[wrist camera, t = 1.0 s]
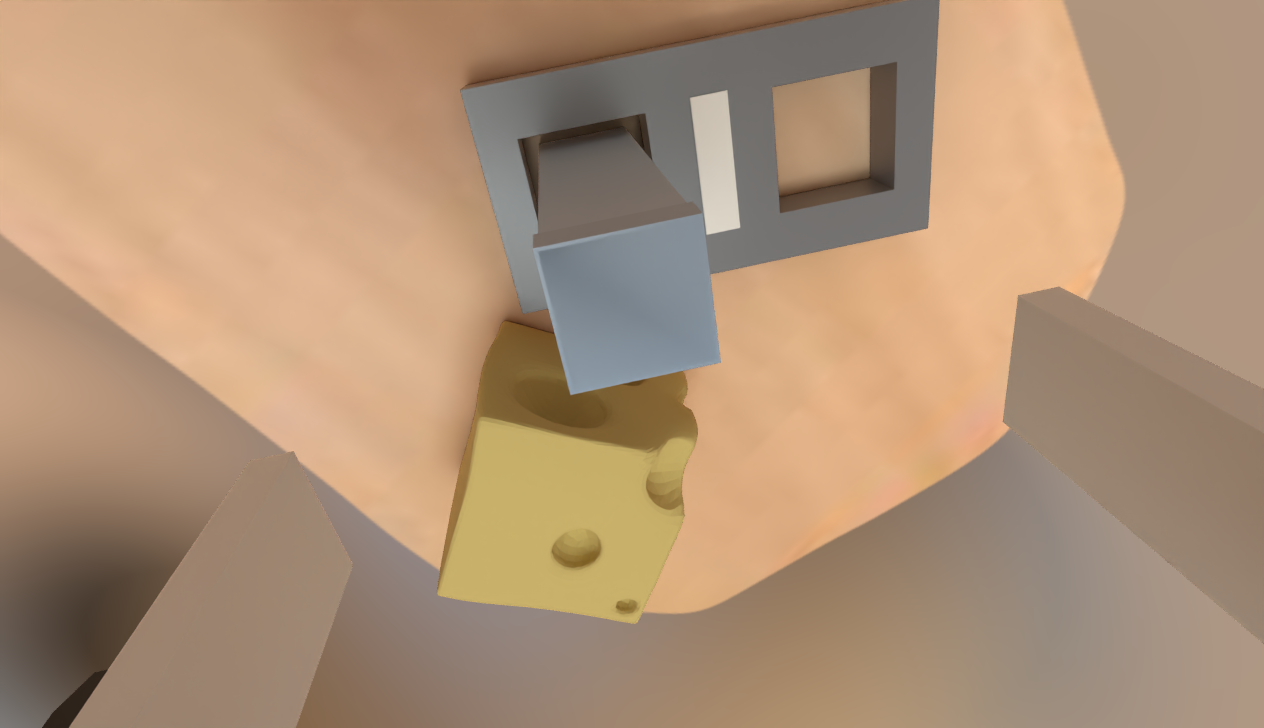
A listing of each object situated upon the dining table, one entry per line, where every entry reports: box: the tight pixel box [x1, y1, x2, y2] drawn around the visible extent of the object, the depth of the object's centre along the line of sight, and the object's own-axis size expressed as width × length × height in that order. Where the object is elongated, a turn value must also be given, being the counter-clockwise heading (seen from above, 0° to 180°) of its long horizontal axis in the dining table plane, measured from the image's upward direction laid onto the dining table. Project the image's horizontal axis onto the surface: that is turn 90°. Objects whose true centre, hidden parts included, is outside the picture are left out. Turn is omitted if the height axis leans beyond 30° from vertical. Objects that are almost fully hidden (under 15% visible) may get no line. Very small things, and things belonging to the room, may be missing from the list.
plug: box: [533, 127, 721, 395], centre depth 24 cm, size 4×4×16 cm
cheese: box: [437, 321, 698, 624], centre depth 32 cm, size 10×11×10 cm
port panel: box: [460, 0, 939, 314], centre depth 30 cm, size 10×20×3 cm, turn 100°
